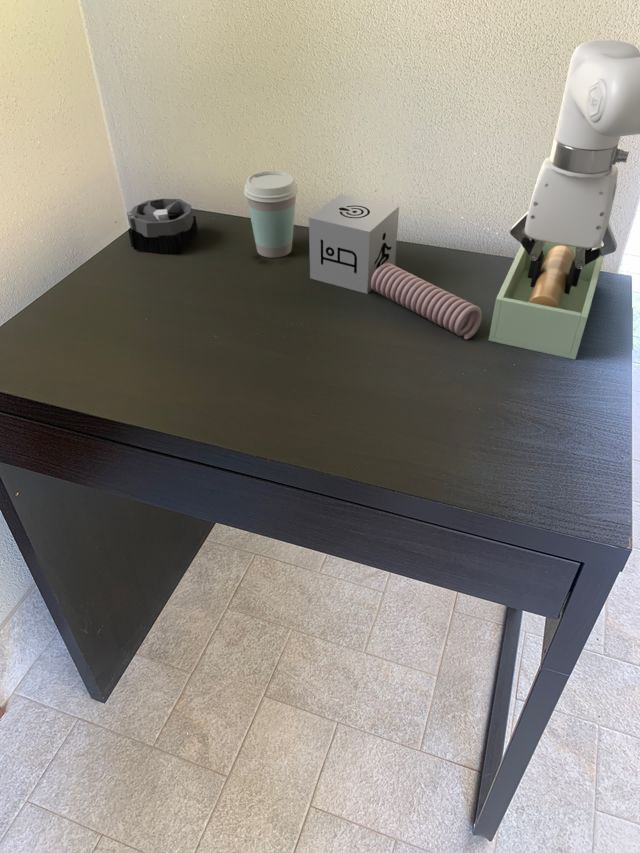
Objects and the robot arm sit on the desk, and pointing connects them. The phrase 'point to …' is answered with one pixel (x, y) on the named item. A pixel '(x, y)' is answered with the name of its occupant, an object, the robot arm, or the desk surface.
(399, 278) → the coil
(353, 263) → the icon cube
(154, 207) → the cpu cooler
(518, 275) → the bin
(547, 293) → the wooden cylinder
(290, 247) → the coffee cup
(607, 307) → the desk surface
